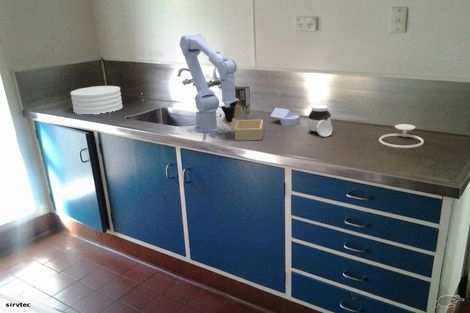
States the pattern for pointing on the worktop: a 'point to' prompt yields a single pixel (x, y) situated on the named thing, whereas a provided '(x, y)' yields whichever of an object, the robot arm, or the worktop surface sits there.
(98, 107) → the plate stack
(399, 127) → the hand towel holder
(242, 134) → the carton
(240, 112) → the coffee box
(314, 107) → the spread jar
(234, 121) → the lid flap
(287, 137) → the worktop surface
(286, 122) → the wedge on round base
